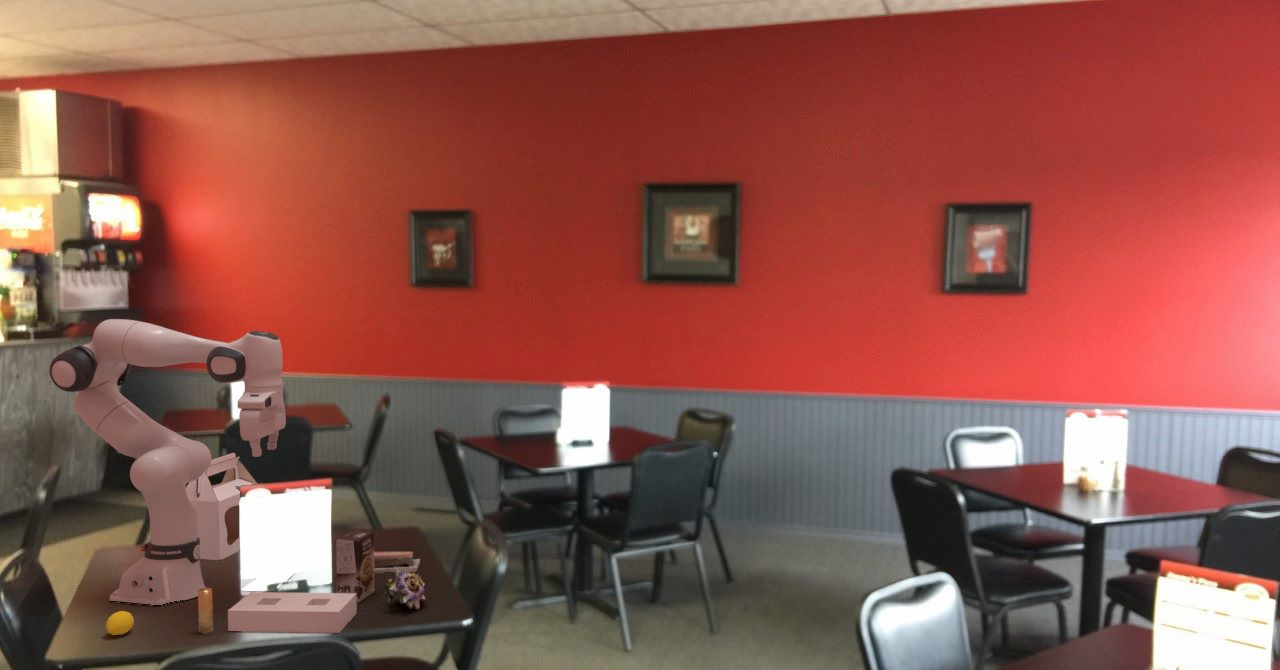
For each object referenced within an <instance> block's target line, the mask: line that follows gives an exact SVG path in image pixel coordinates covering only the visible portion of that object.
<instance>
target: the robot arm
mask: <svg viewBox="0 0 1280 670" xmlns="http://www.w3.org/2000/svg"><path fill="white" fill-rule="evenodd" d="M95 327H96V328H94V331H93V335H92V340H91V342H88V343H85V344H82V345H80V344H79V345H77V346H74V347H72V348H69V349H66V350H65V351H62V352H61V353H59V354H57V356H55V357H54V358H53V359H52V361H51V363H50V365H49V377H50V379H51V381H52V383H53V384H54V385H55V386H56V387H57V388H58V389H60V390H61V391H63V392H68V393H70V392H71V393H74V392H75V393H76V392H78V393H77V394H76V396H75V398H74V400H73V407H74V410H75V412H76V413H77V415H78V416H79V417H80V418H81V420H82V421H83V422H84V423H85V424H86V425H87V426H88V427H89V428H90V429H91V430H92V431H93V432H94V433H96V434H97V435H98V436H99V437H100V438H102V440H104V441H105V442H106V443H107V444H108V445H110V446H111V447H112V448H114V449H115V450H116V451H117V452H118V453H120V454H122V455H123V456H127V457H132V458H134V459H136V460H135V461H134V462H133V463H132V464H131V467H130V470H129V477H130V481H131V483H132V485H133V486H134V488H136V490H138V491H139V492H140V493H141V495H143V498H144V500H145V503H146V505H147V509H148V510H147V511H148V516H149V530H150V531H149V533H150V534H149V535H150V540H149V541H148V542H147V543H145V544H144V545H143V546H141V547H140V552H143V551H144V554H143V557H141V558H140V559H138V560H137V561H136V562H135V563H133V564H132V565H131V566H130V567H129V568H127V569H126V570H125V571H124V572H123V573H122V575H121V577H120V581H119V586H118V588H117V589H115V590H114V591H113V592H112V593H110V595H109V599H110V600H111V601H123V602H132V603H142V604H151V605H150V606H153V605H161V606H164V605H163V604H165V605H167V604H166V603H168V604H170V603H169V602H172V603H175V602H174V601H177V602H181V601H182V600H183V601H186V600H187V601H188V600H191V599H194V598H196V597H197V598H198V590H199V589H202V588H207V587H206V586H205V582H204V579H203V575H202V569H201V562H200V561H201V559H200V538H199V537H198V522H197V509H196V507H195V505H193V504H192V503H191V502H190V501H189V498H188V495H187V492H186V487H187V484H189V483H190V482H191V481H194V480H196V479H198V478H199V477H200V476H202V475H203V474H204V473H205V472H206V471H207V470H208V469H209V467H210V465H211V460H212V459H213V458H212V454H211V451H210V449H209V448H208V446H207V445H206V444H205V443H203V442H201V441H199V440H193V439H190V438H187V437H185V436H183V435H181V434H179V433H177V432H176V431H174V430H171V429H169V428H168V427H166V426H164V425H162V424H160V423H158V422H157V421H155V420H154V419H152V418H151V417H150V416H149V415H147V414H146V413H145V412H144V411H142V410H141V409H140V408H139V407H138V406H136V405H135V404H134V403H133V402H132V401H130V400H129V399H127V397H125V396H124V395H123V394H122V393H121V392H120V390H119V389H118V387H119V386H122V385H123V384H125V383H126V381H127V378H128V375H129V374H130V372H131V370H132V368H133V366H137V367H144V368H146V367H149V368H159V367H167V366H168V367H169V366H173V365H175V366H176V365H180V364H181V365H182V364H188V363H189V364H191V363H193V364H194V363H198V364H205V365H206V366H205V367H206V370H207V373H208V376H210V378H211V379H213V380H214V381H215V382H218V383H220V384H234V383H239V382H244V383H243V384H244V391H243V393H242V395H241V396H240V397H239V399H238V400H237V408H238V409H239V410H240V411H239V435H240V438H241V439H242V441H248V442H249V445H250V448H251V456H252V457H254V458H256V457H257V458H258V457H261V456H262V454H263V453H262V452H263V449H262V448H261V439H263V438H265V437H267V436H268V442H266V445H267V447H266V449H267V450H271V451H273V450H276V449H277V441H278V438H279V431H281V430H283V429H285V427H286V423H287V420H286V418H287V415H286V407H285V406H286V405H285V402H284V383H283V380H282V371H283V367H284V363H283V362H284V360H283V357H284V356H283V347H282V343H281V339H280V337H279V336H278V335H277V334H275V333H272V332H269V331H260V330H252V331H248V332H247V333H246V334H245V335H243V336H242V337H241V338H238V339H236V340H233V341H230V342H227V341H222V340H221V341H220V340H215V339H209V338H204V337H198V336H194V335H191V334H187V333H184V332H180V331H177V330H174V329H170V328H166V327H164V326H160V325H157V324H153V323H149V322H144V321H141V320H140V321H139V320H134V319H133V320H132V319H127V318H126V319H122V318H121V319H120V318H109V319H105V320H103V321H102V322H100V323H99V324H98V325H97V326H95ZM110 600H109V601H110ZM180 600H181V601H180ZM142 604H141V605H142Z"/></svg>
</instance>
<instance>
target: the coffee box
mask: <svg viewBox="0 0 1280 670" xmlns="http://www.w3.org/2000/svg"><path fill="white" fill-rule="evenodd" d="M335 544H336V545H335V546H336V549H335V550H336V558H335V559H336V572H335V573H336V593H356V603H360V602H361V601H363V600H365V598H368V597H369V596H370V595H372V594H373V593H375V592H374V591H375V586H376V585H375V582H376V581H375V580H376V579H375V573H374V552H375V532H374V531H369V530H363V531H362V530H357V531H356V530H351V531H350V532H347V533H345V534H344V535H342V536H340V537H338V538H336V543H335Z"/></svg>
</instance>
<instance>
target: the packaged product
mask: <svg viewBox="0 0 1280 670" xmlns="http://www.w3.org/2000/svg"><path fill="white" fill-rule="evenodd" d="M420 563H421V558H417V559H414V551H412V550H411V551H374V574H385V573H384V572H395V568H397V569H398V570H399V571H400V572H403V570H405V569H407V573H408V572H409V573H416V572H417V571H418V569H419V566H420Z"/></svg>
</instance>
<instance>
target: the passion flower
mask: <svg viewBox="0 0 1280 670" xmlns="http://www.w3.org/2000/svg"><path fill="white" fill-rule="evenodd" d="M394 574H395V578H394V580H393V578H389V579H387V581H386V582H385V584H384V588H385V589H386V590H385V592H384V593H383V594H382V597H383V598H385V597H386V596H388V605H390V604H391V601H392V600H393V599H394V598H395V596H396V595H398V594H401V596H400V598H399V603H400V604H401V605H404V604H405V606H406V607H407V608H408V609H409V610H411V609H412V608H413V609H414V610H419V609H420V600H421V601H425V600H426V597H425V595H424V593H425V590H426V589H425V588H424V586H425V582H423V579H422V578H421V574H420V572H417V574H416V572H407V569H405V570H403V572H400V571H399V570H398V569H397V568H395V573H394Z"/></svg>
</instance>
